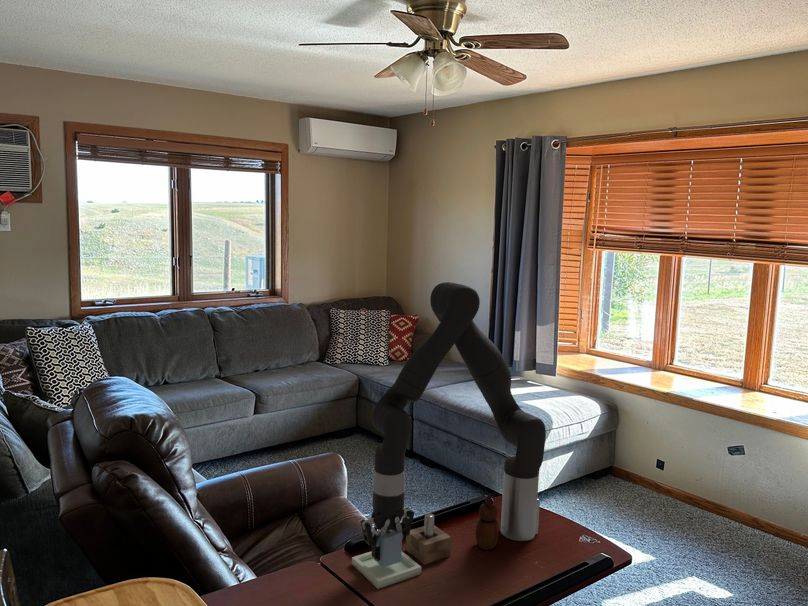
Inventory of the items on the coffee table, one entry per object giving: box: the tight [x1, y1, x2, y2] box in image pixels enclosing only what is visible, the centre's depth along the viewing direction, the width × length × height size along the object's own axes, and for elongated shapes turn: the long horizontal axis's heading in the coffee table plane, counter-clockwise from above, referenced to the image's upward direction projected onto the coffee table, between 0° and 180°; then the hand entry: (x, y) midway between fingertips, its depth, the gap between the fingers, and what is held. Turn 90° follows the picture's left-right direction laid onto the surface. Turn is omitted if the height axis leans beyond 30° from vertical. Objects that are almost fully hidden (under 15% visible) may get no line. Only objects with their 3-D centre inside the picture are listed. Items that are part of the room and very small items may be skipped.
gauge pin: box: [423, 513, 435, 539], centre depth 160 cm, size 2×2×10 cm
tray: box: [351, 550, 422, 590], centre depth 153 cm, size 12×12×2 cm
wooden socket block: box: [405, 524, 452, 566], centre depth 160 cm, size 8×8×5 cm
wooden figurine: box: [475, 492, 499, 551], centre depth 164 cm, size 7×6×15 cm
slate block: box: [372, 529, 403, 568], centre depth 152 cm, size 5×5×7 cm
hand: (386, 555), depth 152 cm, fingers closed on slate block, 5 cm apart
